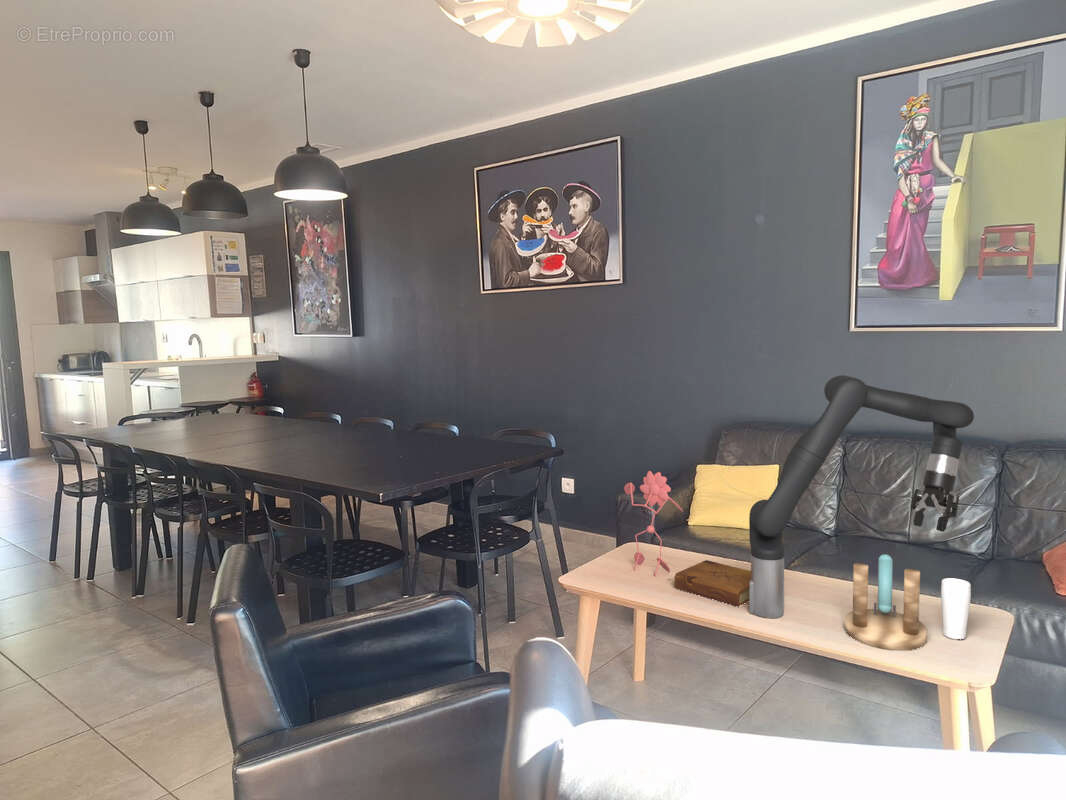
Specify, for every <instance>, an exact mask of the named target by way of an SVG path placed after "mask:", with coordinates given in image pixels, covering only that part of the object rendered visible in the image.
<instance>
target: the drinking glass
mask: <svg viewBox="0 0 1066 800" xmlns="http://www.w3.org/2000/svg"><path fill="white" fill-rule="evenodd" d="M940 584H941V585H940V587H941V588H940V601H941V615H942V634H943V636H945V637H946V638H947V639H950V638H952V639H951V640H954V639H960V640H959V641H961V639H963V640H965V639H966V638H967V630H968V622H969V621H968V620H969V613H970V607H971V606H970V605H971V598H972V596H971V595H972V594H971V593H972V587H971V586H972V585H971V583H970V582H969V581H968V580H964V579H959V578H953V577H951V578H950V577H949V578H947V577H946V578H942V579H941V583H940Z"/></svg>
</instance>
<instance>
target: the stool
mask: <svg viewBox="0 0 1066 800" xmlns="http://www.w3.org/2000/svg"><path fill="white" fill-rule="evenodd" d="M903 574H904V577H903V579H904V580H903V611H902V612H903V613H900V612H896V611H897V610H896V609H897V607H896V605H895V604H892V610H891V612H889V613H887V614H885V613H882V612H880V611H879V609H878V608H877V606H878V602H873V605H874V606H873V609H872V608H868V607H869V605H868V601H869V600H868V599H869V565H868V564H865V563H863V562H856V563H853V575H852V577H853V578H852V585H853V587H852V588H853V589H852V611H849V612H847V613H846V614H845V616H844V624H843V625H844V626H843V628H844V629H845V630H844V632H845V631H846V632H845V633H847V634H848V635H849V636H848V635H847V634H846V635H847V636H848V637H850V636H851V637H852V638H853V640H854V639H855V640H854V641H856V640H857V641H856V642H858V641H859V642H858V643H860V642H861V643H860V644H863V643H864V644H863V645H865V644H866V646H868V645H869V647H872V648H875V647H876V649H881V650H885V649H886V651H894V650H901V651H900V652H903V651H902V650H909V651H913V650H912V649H916V650H918V649H917V648H919V649H921V648H920V647H922V646H924V645H925V644H926V645H927V643H928V629H927V628H928V627H927V626H926V625H925V624H924V623H923V622H921V621H920V595H921V594H920V592H921V590H920V589H921V571H920V570H918V569H914V568H905V569H904V573H903ZM851 637H850V638H851ZM852 638H851V639H852ZM926 642H927V643H926ZM926 645H925V646H926ZM925 646H924V647H925ZM922 648H923V647H922Z"/></svg>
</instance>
